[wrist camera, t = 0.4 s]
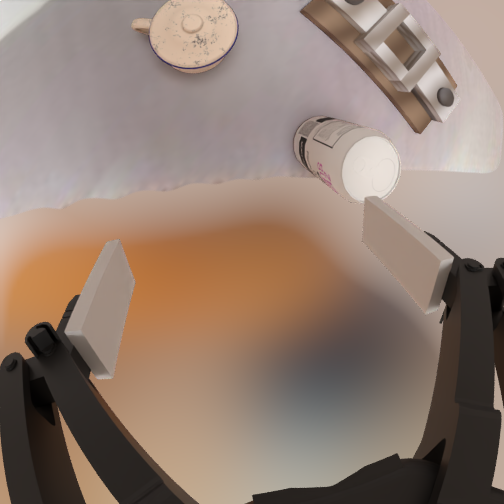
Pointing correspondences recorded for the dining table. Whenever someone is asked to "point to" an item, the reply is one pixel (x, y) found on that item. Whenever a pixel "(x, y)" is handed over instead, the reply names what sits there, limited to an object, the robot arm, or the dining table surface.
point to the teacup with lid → (191, 33)
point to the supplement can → (348, 157)
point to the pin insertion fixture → (391, 55)
